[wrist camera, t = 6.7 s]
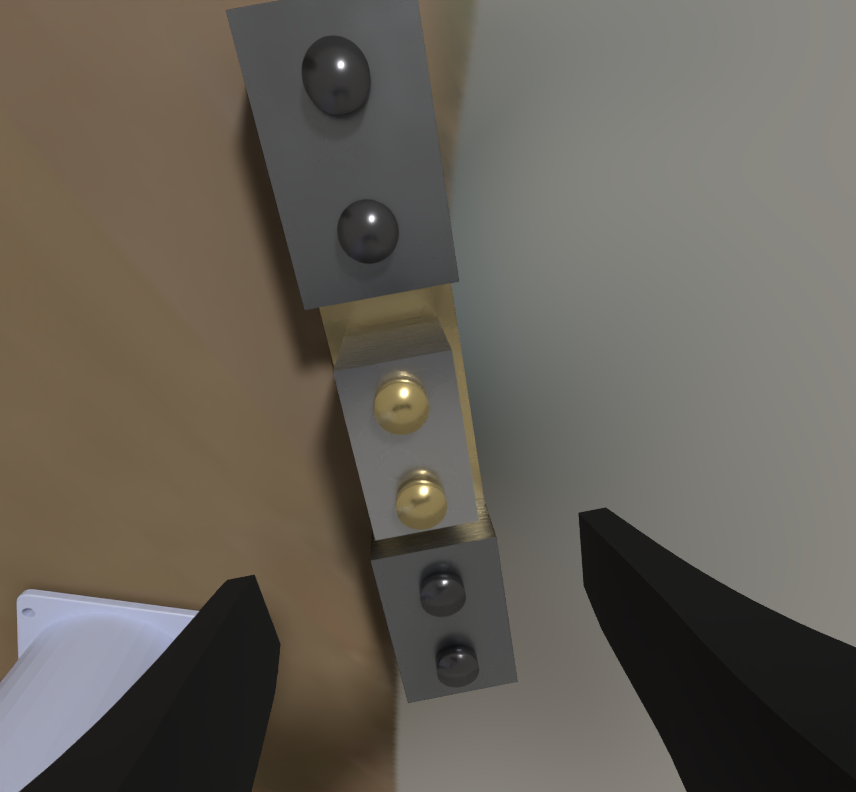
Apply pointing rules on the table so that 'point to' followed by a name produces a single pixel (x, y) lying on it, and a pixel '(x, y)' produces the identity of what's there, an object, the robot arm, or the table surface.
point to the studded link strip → (378, 278)
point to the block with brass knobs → (406, 426)
